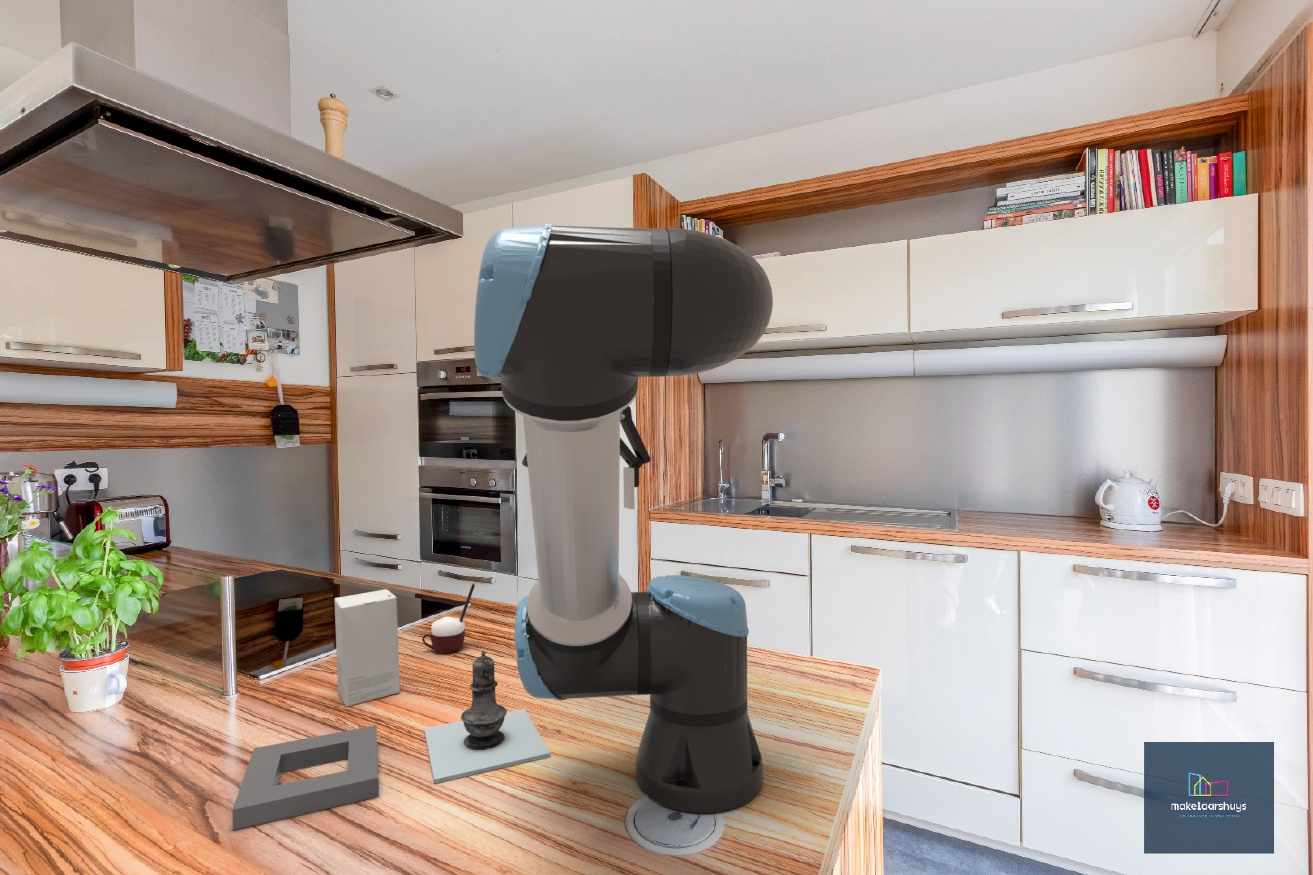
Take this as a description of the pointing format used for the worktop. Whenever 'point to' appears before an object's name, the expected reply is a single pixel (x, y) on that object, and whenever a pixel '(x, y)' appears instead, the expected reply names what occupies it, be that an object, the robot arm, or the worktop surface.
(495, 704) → the salt shaker
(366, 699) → the skincare box
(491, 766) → the mat
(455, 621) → the cocoa
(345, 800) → the grey square frame
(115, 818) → the worktop surface
